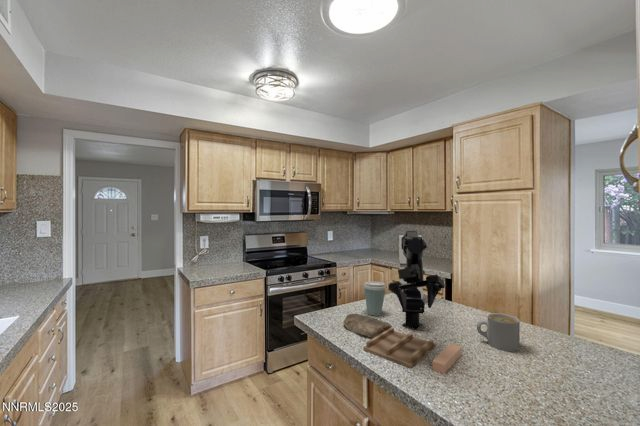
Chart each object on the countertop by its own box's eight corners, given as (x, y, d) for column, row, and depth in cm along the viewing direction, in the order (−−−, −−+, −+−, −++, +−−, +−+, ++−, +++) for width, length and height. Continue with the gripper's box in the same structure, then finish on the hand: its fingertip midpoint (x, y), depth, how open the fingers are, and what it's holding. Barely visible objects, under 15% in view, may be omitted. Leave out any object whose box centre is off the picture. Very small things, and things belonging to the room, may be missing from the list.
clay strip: (450, 351, 105) (450, 343, 105) (461, 355, 102) (461, 346, 102) (432, 370, 93) (432, 361, 93) (444, 374, 91) (444, 365, 91)
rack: (392, 332, 121) (392, 330, 121) (436, 346, 108) (436, 343, 108) (363, 350, 106) (363, 347, 106) (410, 368, 94) (410, 365, 94)
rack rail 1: (391, 331, 120) (391, 327, 120) (394, 331, 119) (394, 327, 119) (366, 346, 106) (366, 342, 106) (368, 347, 106) (368, 343, 106)
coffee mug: (520, 343, 110) (520, 316, 109) (518, 354, 102) (518, 325, 102) (479, 334, 118) (479, 309, 118) (475, 343, 110) (474, 317, 110)
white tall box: (420, 298, 165) (420, 235, 164) (422, 304, 154) (422, 237, 154) (399, 297, 167) (399, 235, 167) (400, 303, 157) (399, 237, 156)
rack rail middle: (410, 336, 114) (410, 332, 114) (412, 337, 113) (412, 333, 113) (386, 354, 101) (386, 349, 101) (388, 355, 100) (388, 350, 100)
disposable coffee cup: (363, 309, 148) (363, 279, 148) (385, 310, 147) (385, 279, 147) (363, 317, 138) (363, 284, 138) (387, 318, 136) (387, 285, 136)
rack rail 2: (431, 343, 109) (431, 338, 109) (433, 344, 108) (433, 339, 108) (408, 362, 95) (407, 357, 95) (410, 363, 95) (410, 358, 95)
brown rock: (335, 326, 129) (371, 341, 113) (335, 315, 129) (371, 328, 113) (357, 319, 138) (393, 332, 122) (357, 308, 138) (393, 320, 122)
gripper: (380, 262, 110) (379, 304, 101) (428, 251, 99) (432, 297, 90) (396, 274, 116) (396, 314, 107) (443, 265, 105) (447, 309, 96)
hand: (416, 309), depth 100 cm, fingers open, 9 cm apart
